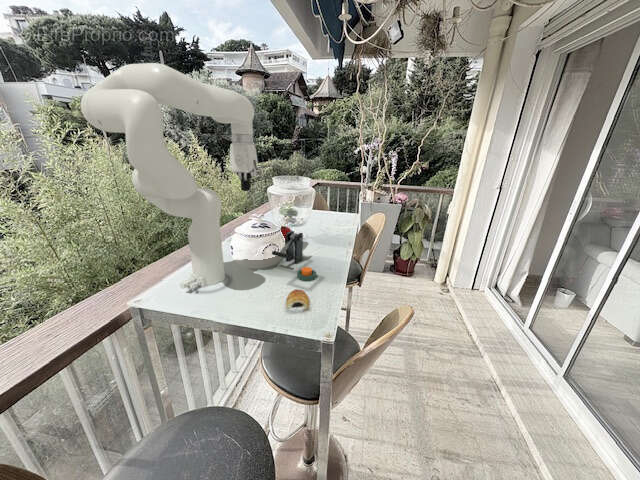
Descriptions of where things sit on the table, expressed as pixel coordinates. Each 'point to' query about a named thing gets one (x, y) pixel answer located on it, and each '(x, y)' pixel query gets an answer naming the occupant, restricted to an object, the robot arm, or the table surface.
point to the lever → (285, 247)
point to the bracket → (295, 247)
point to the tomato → (285, 231)
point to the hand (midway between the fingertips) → (245, 190)
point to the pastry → (297, 299)
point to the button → (306, 271)
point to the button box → (306, 278)
